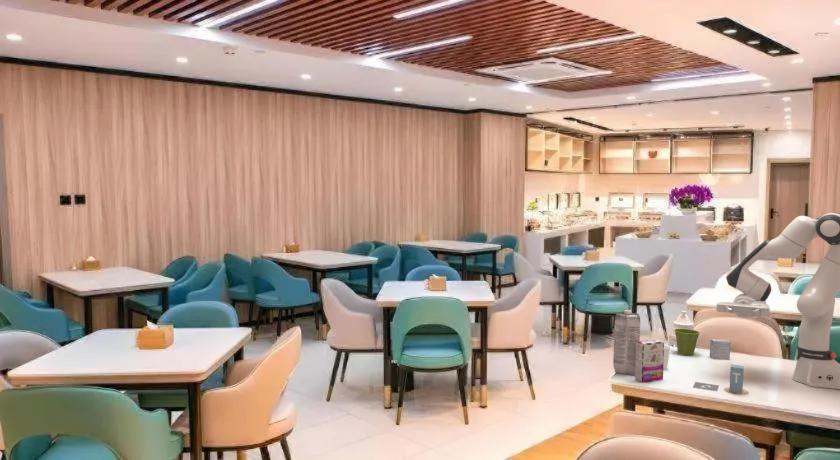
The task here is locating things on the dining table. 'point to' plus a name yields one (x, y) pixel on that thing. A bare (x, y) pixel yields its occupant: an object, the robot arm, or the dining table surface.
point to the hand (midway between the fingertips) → (741, 311)
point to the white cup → (666, 357)
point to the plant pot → (686, 340)
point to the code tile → (706, 386)
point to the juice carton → (626, 342)
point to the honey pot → (680, 327)
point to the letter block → (736, 378)
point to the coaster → (736, 393)
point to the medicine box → (719, 349)
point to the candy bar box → (649, 360)
